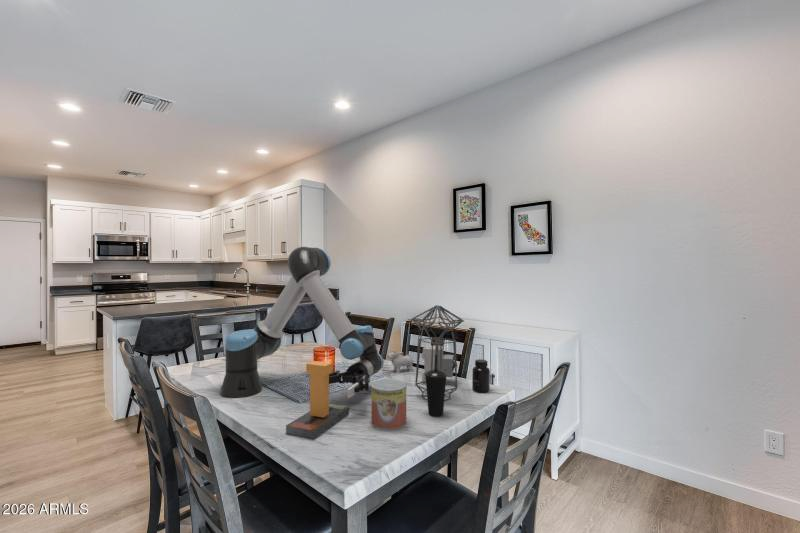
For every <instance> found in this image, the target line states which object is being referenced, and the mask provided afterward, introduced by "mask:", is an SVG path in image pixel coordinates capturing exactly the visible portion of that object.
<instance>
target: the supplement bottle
mask: <svg viewBox="0 0 800 533" xmlns="http://www.w3.org/2000/svg"><path fill="white" fill-rule="evenodd" d="M474 365H475V366H474V367H473V368H472V378H471V379H472V380H471V381H472V382H471V386H472V387H471V388H472V391H473V392H475V393H478V394H487V393H490V386H491V385H490V383H491V382H490V381H491V370H490V368H489V367H488V360H486V359H475V362H474Z"/></svg>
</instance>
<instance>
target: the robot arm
mask: <svg viewBox="0 0 800 533" xmlns="http://www.w3.org/2000/svg"><path fill="white" fill-rule="evenodd" d="M331 263H332V262H331V257H330V255H329V254H328V252H327V251H325V250H324V249H322V248H319V247H308V246H299V247H296V248H295V249H293V250H292V251H291V252H290V254H289V256H288V259H287V266H288V270H289V273H290V274H291V277H290V278H289V279H288V281H287V283H286V285H285V286H284V288H283V290H282V291H281V292H280V295H279V296H278V298H277V299H276V300H275V302H274V304H273V306H272V307H271V308H270V311H269V312H268V313H267V315H266V317H265V318H264V320H260V321H258V323H257V324H256V326H255V327H254V329H241V330H237V331H233V332H230V333H228V335H227V336H226V338H225V345H224V347H225V375H224V378H223V380H222V385H221V387H220V395H221V396H222V397H225V398H245V397H250V396H252V395H256V394H258V393H260V392H261V391H262V390H263V383H262V381H261V378H260V374H259V371H258V360H259V359H262V358H266V357H268V356H271V355H273V354H274V353H276V352H277V351H278V350H279V349H280V347H281V345H282V341H283V340H282V337H283V335H284V332H283V329H284V328H285V326H286V324H287V323H288V321H289V320H290V318H291V317H292V315H293V314H294V312H295V311H296V309H297V307H298V306H299V304H300V303H301V301H302V300H303V298H304V297H305V295H306V294H307V296H308V297H309V298H310V300H311V302H312V303H313V305H314V306H315V308H316V309H317V311H318V312H319V314H320V315H321V316H322V317H321V318H323V320H324V322H325V323H326V324H327V325H328V327H329V329H330V330H331V332H332V333H333V335H334V336H335V338H336V340H337V341H338V343H339V345H340V354H341V356H342V357H343V358H345V359H346V360H349V361H350V360H354V359H357V358H359V360H358V361H356V362H354V363H353V364H351V365H350V366H348V367H347V369H346V370H345V372H341V371H340V370H335V371H334V372H333V371H332V373H330V374H329V385H331V384H336V383H339V384H345V383H346V384H348V383H350V384H352V386H350V387H349V388H347V389H346V390H347V398H348V399H350V398H351V397H353V396H354V395H355V394H357V393H359V392H362V391H365V392H367V391H369V390H370V386H369V383H370V382H371V377H372V376H373V375H375V374H377V373H379V371H380V370H382V368H383V367H384V363H385V362H384V358H383V357H382V355H381V354H380V353H379V351H378V349H377V344H376V339H375V333H374V331H373V327H372V326H371V325H364V326H359V327H356V328H355V326H354V325H353V324H352V322H351V321H350V319H349V317H348V316H347V315H346V314H345V312H344V310H343V309H342V307H341V305H340V304H339V302H338V301H337V300H336V298H335V297H334V295H333V293H332V292H331V291H330V289H329V288H328V286H327V285H326V283H325V282H324V280H323V278H322V276H324V275H326V274H327V273H328V272H329V270H330V269H331Z"/></svg>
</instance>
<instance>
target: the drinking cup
mask: <svg viewBox="0 0 800 533" xmlns="http://www.w3.org/2000/svg"><path fill="white" fill-rule="evenodd" d="M424 375H425V378H426V385H425V386H426V388H425V389H427V391H426V393H427V394H426V395H427V396H426V399H427V400H426V401H427V410H428V415H429V416H430V417H435V418H438V417H442V416H444V406H445V401H444V400H445V399H446V398H445V397H446V396H445V394H446V392H445V390H446V384H447V383H446V382H447V378H448V377H447V373H446V372H444V371H442V370H438V369H437V354H435V369H433V370H429V371H427V372H425V374H424Z"/></svg>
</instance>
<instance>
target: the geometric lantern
mask: <svg viewBox="0 0 800 533" xmlns="http://www.w3.org/2000/svg"><path fill="white" fill-rule="evenodd" d="M424 314H425V316H424V317H423V318H418V317H420V316H422V315H424ZM450 315H451V316H452V317H454V318H456V319H453V318H452V317H451V316H450ZM437 319H438V322H436V320H437ZM431 320H432V321H431ZM440 320H441V321H440ZM410 321H412V322H413V323H414V324H415V325H416V326H417V327H418V329H419V333H418V338H417V354H416V355H417V356H416V369H415V387H417V389H419V391H420V392H421V393H422V394H421V399H424V400H425V401H427V389H426V388H425V387H423V386H420V384H421V385H422V383H426V381H424V382H422V381H420V382H418V379H419V378H418V377H419V368H420V358H421V357H420V356H421V344H422V342H423V343H428V344H431V345H432V354H431V370H432V368H433V346H434V345H435V346H436V347H435V354H436V353H437V369H438V370H439V365H438V346H440V370H442V346H443V344H444V345H445V344H451V343H452V344H453V347H452V348H453V355H454V356H453V357H454V363H455V368H454V373H455V374H454V375H455V379H454V380H455V384H454V383H451V382H448V381H446V384H447V385H451V386H453V388H445V397H446V398H445V399H444V402H446V401H449V400H451V399H452V398H451V394H453V393H454V392H455V391H457V390H458V388H459V387H458V372H457V370H458V369H457V368H458V364H457V365H456V363H457V340H456V339H455V334H454V331H453V330H455V329H456V328H457V327H458V326H460V324H462V323H464V322H465V320H464V319H462V318H461V317H459V316H457V315H456V314H454V313H452V312H451V311H449V310H448V309H446V308H445V307H444V306H441V305H438V304H437V305H434V306H433V307H431V308H429V309H427V310H425V311H423V312H421V313H419V314H417V315H416V316H414V317H412V318H411V319H410ZM446 321H447V322H446ZM422 323H423V324H422ZM425 324H426V325H425ZM427 324H428V325H427ZM434 324H437V325H439V327H440V328H441V329H442V330H443V331H442V332H441V334H439V337H437V335H436V334H435V333H434V331H433V329H432V328H431V327H432V325H434ZM442 324H443V325H445V327H444V326H443V325H442ZM421 326H422V327H421ZM427 329H429V330H430V331H431V332H432V334H433V335H434V336H433V337H431V336H430V334H429V332H428V330H427ZM424 331H425V333H426V335H427V336H428V337H425V338H423V333H424ZM447 332H451V336H452V339H450V338H445V337H444V335H445V334H446V333H447ZM433 339H435V342H434V341H433ZM426 340H427V341H426ZM428 340H429V341H428ZM442 340H447V341H446V342H445V341H444V342H442ZM430 341H431V342H430ZM438 341H439V342H438ZM434 369H435V365H434ZM425 397H426V398H425Z"/></svg>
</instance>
